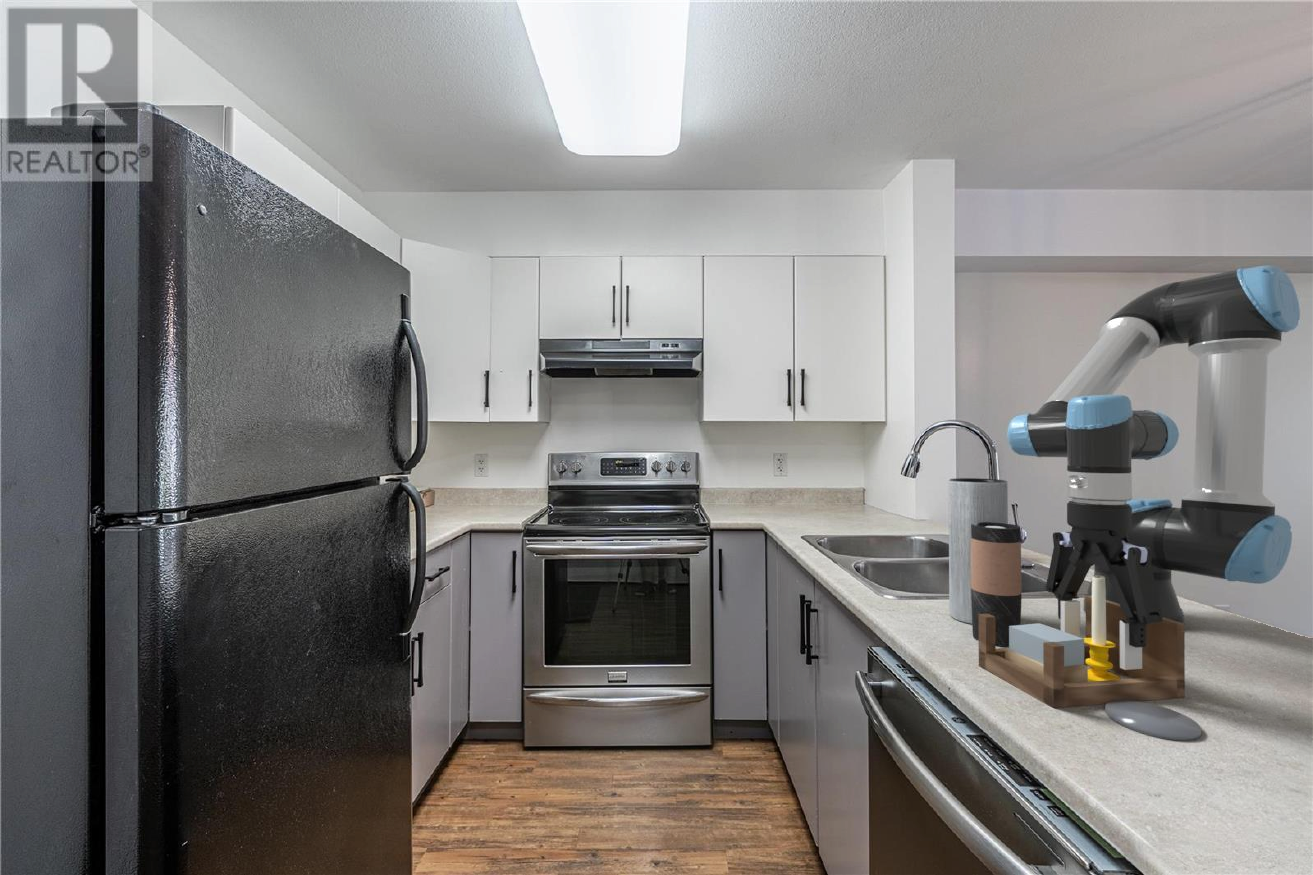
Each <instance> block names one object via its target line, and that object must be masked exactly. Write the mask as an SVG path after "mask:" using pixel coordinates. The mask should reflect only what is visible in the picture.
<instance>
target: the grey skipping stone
mask: <svg viewBox="0 0 1313 875" xmlns="http://www.w3.org/2000/svg"><path fill="white" fill-rule="evenodd" d="M1104 711H1105V714H1106V716H1107V717H1108V718H1109V719H1110V720H1112V721H1113V722H1115V723H1117V724H1118V725H1120V726H1122V727H1125V728H1127V729H1129V730H1131V731H1134V732H1137V733H1140V734H1144V735H1147V736H1150V737H1154V738H1159V739H1164V740H1165V739H1166V740H1171V741H1180V742H1181V741H1183V742H1184V741H1194V740H1197V739H1200V737H1201V735H1202V727H1201V725H1200V724H1199V723H1198V722H1197V721H1195V720H1194V719H1193V718H1191V717H1189V716H1187V715H1185V714H1183V713H1180V712H1178V711H1176V710H1174V709H1170V708H1167V707H1164V706H1160V705H1158V704H1154V703H1149V702H1145V701H1130V700H1116V701H1111V702H1108V703H1107V704H1105V710H1104Z"/></svg>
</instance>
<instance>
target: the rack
mask: <svg viewBox="0 0 1313 875" xmlns="http://www.w3.org/2000/svg"><path fill="white" fill-rule="evenodd" d="M1085 596H1086V595H1085ZM1134 613H1135V614H1136V612H1135V611H1134ZM1123 619H1126V618H1125V616H1124V614H1123V611H1122V609H1121V606H1120V604H1118V603H1115V602H1111V601H1108V600H1106V640H1107V641H1110V642H1113V643H1114V644H1116V647H1113V648H1109V650H1108V654H1109V657H1108V662H1110V663H1112V664H1113V668H1112V669H1110V670H1111V671H1113V672H1116V673H1119V674H1121V675H1123V676H1124V677H1128V678H1121V679H1120V680H1106V681H1093V682H1079V683H1065V684H1064V646H1063V645H1060V644H1058V643H1056V642H1043V671H1044V679H1043V678H1041V677H1039V676H1037V675H1035V674H1033V673H1031V672H1029V671H1027V670H1025V669H1023V668H1021V667H1019V666H1017V665H1015V664H1013V663H1012V662H1010V661H1008V660H1006V659H1005V648H1006V647H1003V648H1002V647H1000V648H996V647H997V646H996V644H995V617H994V616H992V615H990V614H979V641H978V666H979V667H980V668H982V669H983V670H985V671H987V672H989V673H991V674H993V675H994V676H996V677H998V678H999V679H1001V680H1003V681H1005V682H1006V683H1008V684H1010V685H1012V686H1013V687H1016V688H1018V689H1019V690H1021V691H1023V692H1024V693H1026V694H1028V695H1030V696H1032V697H1033V698H1035V699H1037V700H1039V701H1040V702H1042V703H1044V704H1046V705H1048V706H1049V707H1051V708H1052V709H1057V708H1070V707H1082V706H1094V705H1106V704H1107V703H1108V702H1111V701H1116V700H1130V701H1139V702H1145V701H1154V700H1155V701H1157V700H1158V701H1159V700H1169V699H1170V700H1171V699H1182V698H1185V697H1186V696H1185V695H1186V693H1185V692H1186V690H1185V689H1186V688H1185V687H1186V686H1185V685H1186V683H1185V682H1186V681H1185V680H1186V678H1185V674H1186V673H1185V671H1186V669H1185V667H1186V666H1185V665H1186V664H1185V658H1186V657H1185V654H1186V653H1185V650H1186V649H1185V642H1186V641H1185V622H1184V623H1180V622H1177V621H1174V620H1170V619H1167V618H1164V617H1163V620H1162V621H1161V622H1150V623H1148V624H1147V625H1146V646H1145V647H1142V669H1131V670H1124V669H1122V668H1120V621H1122V620H1123ZM1085 638H1092V596H1086V612H1085ZM1089 651H1090V645H1089V644H1087V643H1085V642H1084V663H1086V659H1088V658H1090V652H1089Z"/></svg>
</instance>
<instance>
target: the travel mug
mask: <svg viewBox="0 0 1313 875" xmlns="http://www.w3.org/2000/svg"><path fill="white" fill-rule="evenodd" d="M1021 536H1022V532H1021V526H1019V525H1017V524H1012V523H1008V524H1006V523H994V522H980V523H978V524H977V525H973V524H971V604H972V624H971V627H972V637H973V638H974V639H975V640H977V641H978V642H979V614H990V615H992V616H994V617H995V644H996V647H1003V648H1006V647H1009V626H1016V625H1022V624H1021V623H1022V592H1023V591H1022V590H1023V589H1022V587H1023V584H1022V537H1021Z"/></svg>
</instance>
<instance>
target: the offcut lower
mask: <svg viewBox="0 0 1313 875" xmlns="http://www.w3.org/2000/svg"><path fill="white" fill-rule="evenodd" d="M1004 648H1005V659H1006V660H1008V661H1010V662H1012V663H1013V664H1015V665H1017V666H1019V667H1021V668H1023V669H1025V670H1027V671H1029V672H1031V673H1033V674H1035V675H1037V676H1039V677H1041V678H1043V679H1044V671H1043V664H1042V663H1039V662H1037V661H1035V660H1032V659H1030V658H1028V657H1025V656H1023V655H1021V654H1018V653H1016V652H1014V651H1011V650H1009V647H1004ZM1088 668H1089V665H1087V664H1085V663H1084V664H1080V665H1072V666H1064V684H1065V683H1079V682H1088Z"/></svg>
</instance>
